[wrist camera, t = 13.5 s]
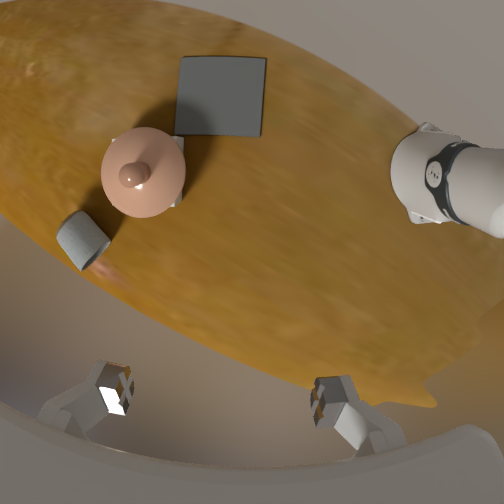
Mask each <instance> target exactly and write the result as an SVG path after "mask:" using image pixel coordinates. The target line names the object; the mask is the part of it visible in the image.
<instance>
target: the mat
mask: <svg viewBox="0 0 504 504" xmlns="http://www.w3.org/2000/svg"><path fill="white" fill-rule="evenodd" d="M264 73H265V59H260V58H244V57H183V58H181V65H180V73H179V82H178V93H177V104H176V117H175V132H174V134H175V135H180V134H198V135H233V136H250V137H260V126H261V113H262V99H263V86H264Z"/></svg>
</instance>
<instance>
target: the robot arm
mask: <svg viewBox="0 0 504 504" xmlns="http://www.w3.org/2000/svg"><path fill="white" fill-rule="evenodd" d="M391 180H392V185H393V188H394V191H395V193H396V195H397V197H398V198H399V200H400V201H401V202H402V203H403V205H404V206H405V207H406V208H407V211H408V214H409V217H410V220H411V221H412V222H413V223H416V224H420V223H429V222H436V223H439V224H441V223H442V222H447V221H454V222H456V223H459V224H460V223H461V224H463V225H472V226H474V227H476V228H478V229H480V230H482V231H484V232H486V233H488V234H490V235H492V236H494V237H496V238H504V149H492V148H481V147H479V146H478V145H475V144H472V143H470V142H467V141H464V140H462V141H461V138H460V137H459V136H456V135H454V136H453V134H452V133H449V132H443V131H441V130H440V129H438V128H437V127H435V126H434V125H432V124H430V123H426V122H425V123H423V124H422V125H421V126H420V127H419V129H418V130H417V131H416V132H415V133H413V134H411V135H409V136H407V137H406V138H405V139H403V140H402V141H401V142H400V144H399V145H398V146H397V148H396V150H395V152H394V155H393V158H392V163H391ZM130 373H131V370H130V367H129V366H126V365H121V364H117V363H112V362H107V361H103V360H98V361H97V362H96V363H95V365H94V367H93V368H92V370H91V372H90V374H89V375H88V378H87V379H86V381H85V383H82V382H81V383H80V384H78V385H76V386H75V387H72V388H71V389H69V390H67V391H66V392H63V393H61V394H60V395H58V396H56V397H54V398H52V399H51V400H48V401H46V402H45V404H44V406H43V407H42V409H41V411H40V413H39V414H38V416H37V418H36V420H34V419H32V418H30V417H28V416H26V415H24V414H22V413H20V412H18V411H16V410H14V409H12V408H11V407H9V406H7V405H5V404H4V403H2V402H0V504H504V458H503V456H502V454H501V452H500V450H499V448H498V446H497V444H496V442H495V440H494V439H493V437H492V436H491V435H490V434H489V433H488V432H486V431H484V430H482V429H480V428H478V427H476V426H474V425H472V424H463V425H461V426H458V427H456V428H454V429H451V430H449V431H446V432H444V433H441V434H438V435H436V436H433V437H430V438H428V439H425V440H422V441H419V442H416V443H413V444H409V445H408V444H407V441H406V439H405V437H404V434H403V432H402V430H401V428H400V426H399V425H398V424H397V423H395V422H394V421H392V420H391V419H389V418H388V417H386V416H385V415H384V414H382V413H381V412H379V411H378V410H376V409H375V408H373V407H372V406H371V405H369V404H368V403H366V402H365V401H364V400H361V401H360V399H359V396H358V394H357V391H356V389H355V387H354V384H353V382H352V379H351V377H350V376H349V375H343V376H330V377H317V378H316V379H315V382H314V385H315V388H314V389H312V391H311V395H310V405H311V409H312V410H313V411H314V412H315V413H314V416H313V418H314V422H315V427H316V428H321V427H334V428H335V429H336V430H337V431H338V432H339V433H340V434H341V435H342V436H343V437H344V438H345V439H346V440H347V441H348V442H349V443H350V444H351V445H352V446H353V447H354V448H355V449H356V450H357V452H356V453H355V454H354V456H353V457H352V458H351V459H346V460H341V461H334V462H327V463H319V464H310V465H300V466H285V467H224V466H209V465H198V464H189V463H181V462H175V461H168V460H162V459H157V458H151V457H146V456H141V455H137V454H133V453H128V452H124V451H120V450H116V449H113V448H109V447H106V446H102V445H99V444H96V443H92V442H90V441H89V440H88V439H87V437H86V436H85V434H84V433H85V432H86V431H87V430H89V429H90V428H91V427H92V426H94V425H95V424H96V423H97V422H99V421H100V420H101V419H102V418H104V417H105V416H106V415H107V414H108V413H109V412H111V413H115V414H120V415H126V413H127V410H128V407H129V402H128V400H129V399H131V398H132V396H133V394H134V380H133V378H131V376H130Z"/></svg>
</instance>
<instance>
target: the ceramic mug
mask: <svg viewBox="0 0 504 504" xmlns="http://www.w3.org/2000/svg"><path fill="white" fill-rule="evenodd" d="M56 238H57V240H58V242H59V244H60V245H61V247H62V248H63V249H64V251H65V252H66V253H67V255H68V256H69V257H70V259H71V260H72V261H73V263H74V264H75V265H76V267H77V268H78V269H79V270H80V271H83V270H85V269H86V268H87V267H88V266H89V265H91V264H92V263H93V262H94V261H95V260H96V259H97V258H98V257H99V256H100V255H101V254H102V252H103V251H104V250H105V249H106V248H107V247H108V245H109V244H110V242H111V241H110V239H109V238H108V237H107V236H106V235H105V233H104V232H103V231H102V230H101V229H100V228H99V227H98V226H97V225H96V224H95V222H94V221H93V220H92V219H91V218H90V216H89V215H88V214H86V213H85V212H84V211H82V210H79V211H75V212H74V213H72V214H71V215H69V216H68V217H67V218H66V219H65V220H64V221H63V222H62V223H61V225H60V226H59V228H58V229H57V232H56Z"/></svg>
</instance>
